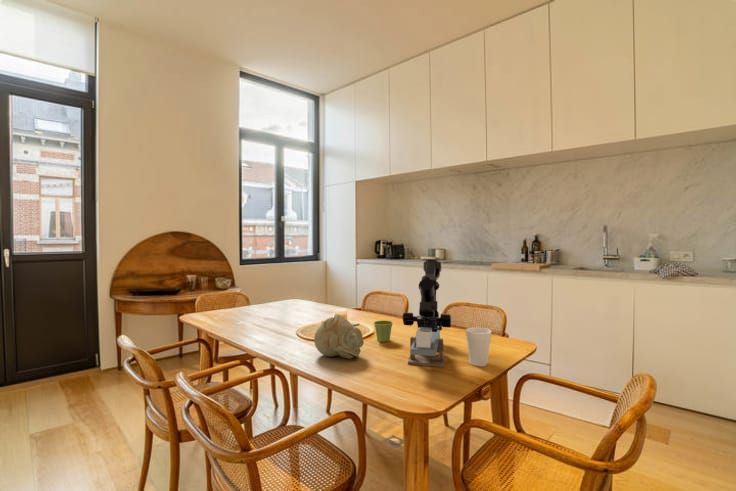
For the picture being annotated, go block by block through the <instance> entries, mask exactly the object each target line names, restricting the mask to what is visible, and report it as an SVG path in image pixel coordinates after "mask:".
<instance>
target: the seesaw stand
mask: <svg viewBox="0 0 736 491" xmlns="http://www.w3.org/2000/svg"><path fill="white" fill-rule="evenodd" d="M414 338H415V336H410V339H409V340H410V342H409V344H410V346H409V347H410V348H411V346H412V343H413V341H414ZM407 365H409V366H410V365H411V366H425V367H427V366H428V367H438V368H439V367H440V368H445V365H446V357H444V338H441V337H440V338H439V353H438V356H426V355H411V354H409V358H408V360H407Z"/></svg>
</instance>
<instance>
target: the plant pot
mask: <svg viewBox="0 0 736 491" xmlns="http://www.w3.org/2000/svg"><path fill="white" fill-rule="evenodd" d="M373 325H374V328H375V333H376V334H375V335H376V340H377V342H379V343H385V342H390V341H391V333H392V328H393V325H394V322H393V321H392V320H376V321H373Z"/></svg>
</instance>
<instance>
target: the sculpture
mask: <svg viewBox="0 0 736 491" xmlns="http://www.w3.org/2000/svg"><path fill="white" fill-rule="evenodd" d="M313 340H314V345H315V349H316V350H317V351H318V353H320V354H322V355H323V356H325V357H332V358H333V357H336V356H340V357H341V358H346V359H349V360H352V359H354V357H357V358H358V357H360V356H359V355H360V353H361V352H362V351H361V350H362V349H361V348H362V347H363V346H364V343H365V342H364V341H365V340H364V337H363V334H362V331H361V329H359V328H358V327H355V325H353V324H352V323H351V322H350V321H349V320H348V319H347V318H345V317H344V316H343V315H341V314H337V313H335V314H334V316H331V317H329V318H326V320H324V321H323V323H322V324H321V325H320V326H319V327H318V328H317V329H316V331H315V333H314V339H313Z"/></svg>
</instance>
